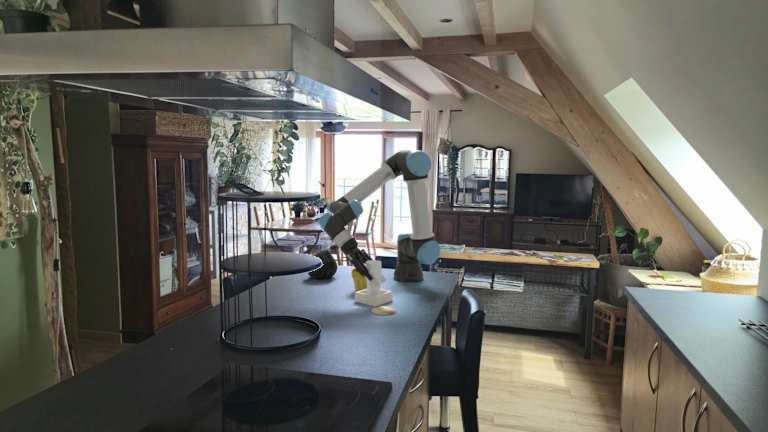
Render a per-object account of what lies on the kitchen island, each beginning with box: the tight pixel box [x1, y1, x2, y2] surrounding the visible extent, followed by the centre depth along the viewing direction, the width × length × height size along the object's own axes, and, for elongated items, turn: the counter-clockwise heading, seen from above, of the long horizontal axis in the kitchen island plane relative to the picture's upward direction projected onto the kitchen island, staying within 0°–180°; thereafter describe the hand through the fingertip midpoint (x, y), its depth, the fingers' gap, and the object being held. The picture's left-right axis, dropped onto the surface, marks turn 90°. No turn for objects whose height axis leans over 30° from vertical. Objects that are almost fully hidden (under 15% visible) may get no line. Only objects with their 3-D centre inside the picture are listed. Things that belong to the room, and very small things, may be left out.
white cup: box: [365, 259, 383, 296], centre depth 214 cm, size 7×7×15 cm
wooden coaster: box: [370, 305, 397, 316], centre depth 201 cm, size 10×10×1 cm
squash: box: [307, 249, 338, 279], centre depth 255 cm, size 14×15×15 cm
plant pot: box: [351, 267, 367, 292], centre depth 231 cm, size 10×10×10 cm
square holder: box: [354, 288, 393, 307], centre depth 215 cm, size 11×11×4 cm
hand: (381, 283), depth 213 cm, fingers closed on white cup, 7 cm apart
